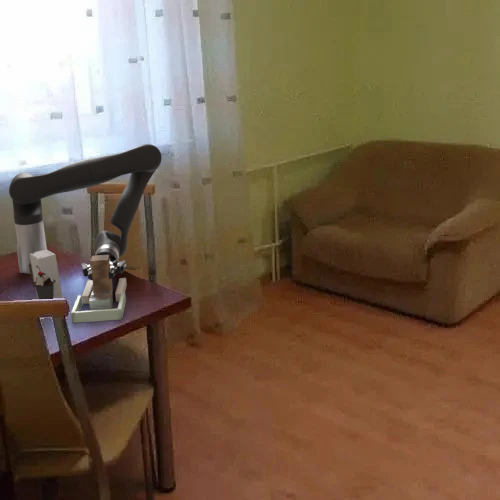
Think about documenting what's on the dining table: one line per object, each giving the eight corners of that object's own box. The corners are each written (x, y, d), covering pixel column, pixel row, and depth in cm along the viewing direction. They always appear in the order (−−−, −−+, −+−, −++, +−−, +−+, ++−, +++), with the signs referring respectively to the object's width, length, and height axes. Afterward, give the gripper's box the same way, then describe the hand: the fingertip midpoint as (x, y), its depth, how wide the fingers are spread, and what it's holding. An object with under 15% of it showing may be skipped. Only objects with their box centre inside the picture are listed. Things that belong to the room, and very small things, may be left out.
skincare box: (63, 300, 233) (57, 254, 228) (44, 305, 230) (37, 258, 225) (53, 293, 240) (48, 248, 235) (35, 297, 236) (28, 252, 232)
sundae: (38, 311, 225) (31, 263, 221) (61, 309, 226) (55, 261, 221) (34, 320, 219) (27, 270, 214) (58, 318, 220) (51, 269, 215)
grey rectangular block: (90, 313, 222) (88, 300, 221) (92, 308, 226) (90, 295, 225) (111, 312, 222) (109, 299, 221) (112, 306, 226) (111, 294, 225)
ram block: (94, 298, 229) (90, 261, 226) (96, 292, 234) (92, 255, 230) (111, 297, 230) (107, 259, 226) (112, 291, 234) (108, 254, 231)
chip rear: (91, 308, 226) (90, 295, 225) (93, 303, 230) (91, 290, 228) (112, 306, 226) (110, 294, 225) (113, 301, 230) (112, 289, 229)
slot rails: (82, 303, 230) (81, 296, 229) (88, 287, 243) (87, 280, 242) (122, 301, 230) (122, 293, 229) (126, 285, 244) (125, 277, 243)
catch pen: (72, 322, 216) (70, 313, 215) (79, 304, 229) (77, 295, 228) (121, 319, 216) (120, 309, 216) (126, 301, 230) (125, 292, 229)
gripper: (82, 249, 242) (74, 266, 225) (127, 246, 242) (123, 263, 226) (84, 271, 244) (77, 290, 228) (130, 268, 245) (126, 286, 229)
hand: (100, 276), depth 227 cm, fingers closed on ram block, 5 cm apart
